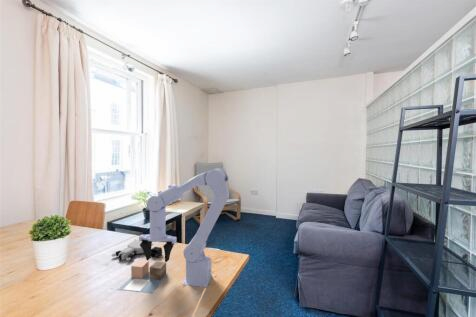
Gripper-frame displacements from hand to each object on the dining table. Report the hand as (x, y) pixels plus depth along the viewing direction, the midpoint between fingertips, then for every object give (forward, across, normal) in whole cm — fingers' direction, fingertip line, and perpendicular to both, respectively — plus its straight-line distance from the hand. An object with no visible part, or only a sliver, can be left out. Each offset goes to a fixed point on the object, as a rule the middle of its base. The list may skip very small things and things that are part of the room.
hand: (157, 259), depth 82 cm
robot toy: (+8, +21, -16) cm, 27 cm away
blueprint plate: (+7, +3, +4) cm, 9 cm away
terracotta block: (+6, +7, 0) cm, 10 cm away
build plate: (+8, +9, -15) cm, 19 cm away
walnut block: (+6, 0, 0) cm, 7 cm away
